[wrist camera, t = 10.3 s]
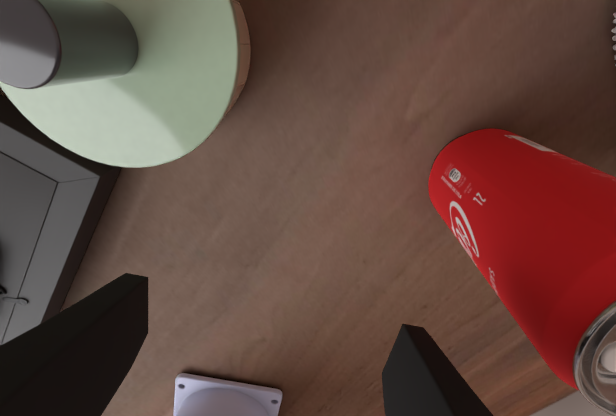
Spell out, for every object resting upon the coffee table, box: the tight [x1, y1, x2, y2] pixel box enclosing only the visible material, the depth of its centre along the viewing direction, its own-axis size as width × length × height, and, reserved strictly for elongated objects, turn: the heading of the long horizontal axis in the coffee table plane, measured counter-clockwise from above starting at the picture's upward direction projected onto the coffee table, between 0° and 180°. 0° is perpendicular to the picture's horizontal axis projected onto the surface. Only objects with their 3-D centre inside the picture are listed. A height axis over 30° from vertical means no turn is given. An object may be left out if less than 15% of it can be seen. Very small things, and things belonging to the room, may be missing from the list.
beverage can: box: [429, 129, 616, 416], centre depth 13 cm, size 5×5×12 cm
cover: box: [0, 0, 241, 168], centre depth 10 cm, size 9×9×5 cm
